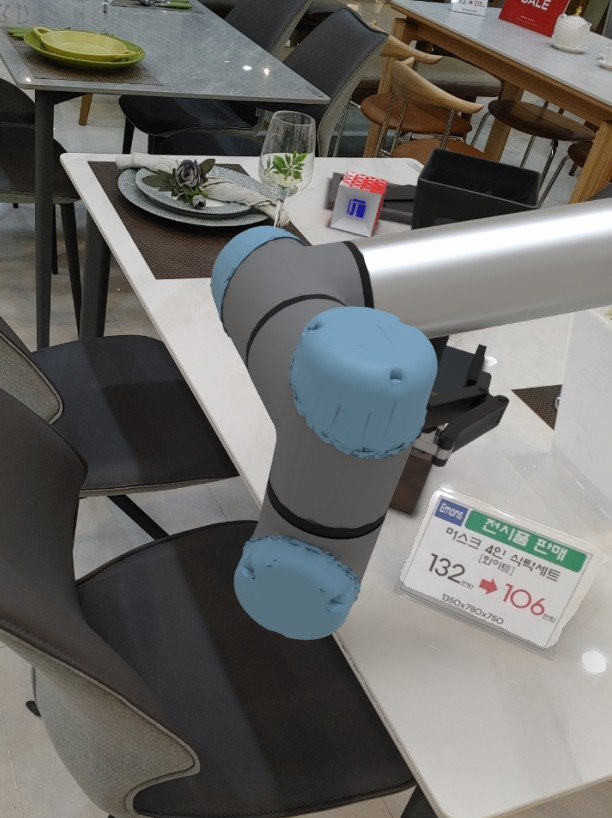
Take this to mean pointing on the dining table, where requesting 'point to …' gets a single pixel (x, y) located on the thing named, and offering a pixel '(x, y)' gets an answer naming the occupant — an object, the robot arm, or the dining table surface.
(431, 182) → the flower pot
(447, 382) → the slate mat
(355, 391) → the robot arm
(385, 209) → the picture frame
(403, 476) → the open wooden box
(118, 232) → the dining table surface
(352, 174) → the red and white box
